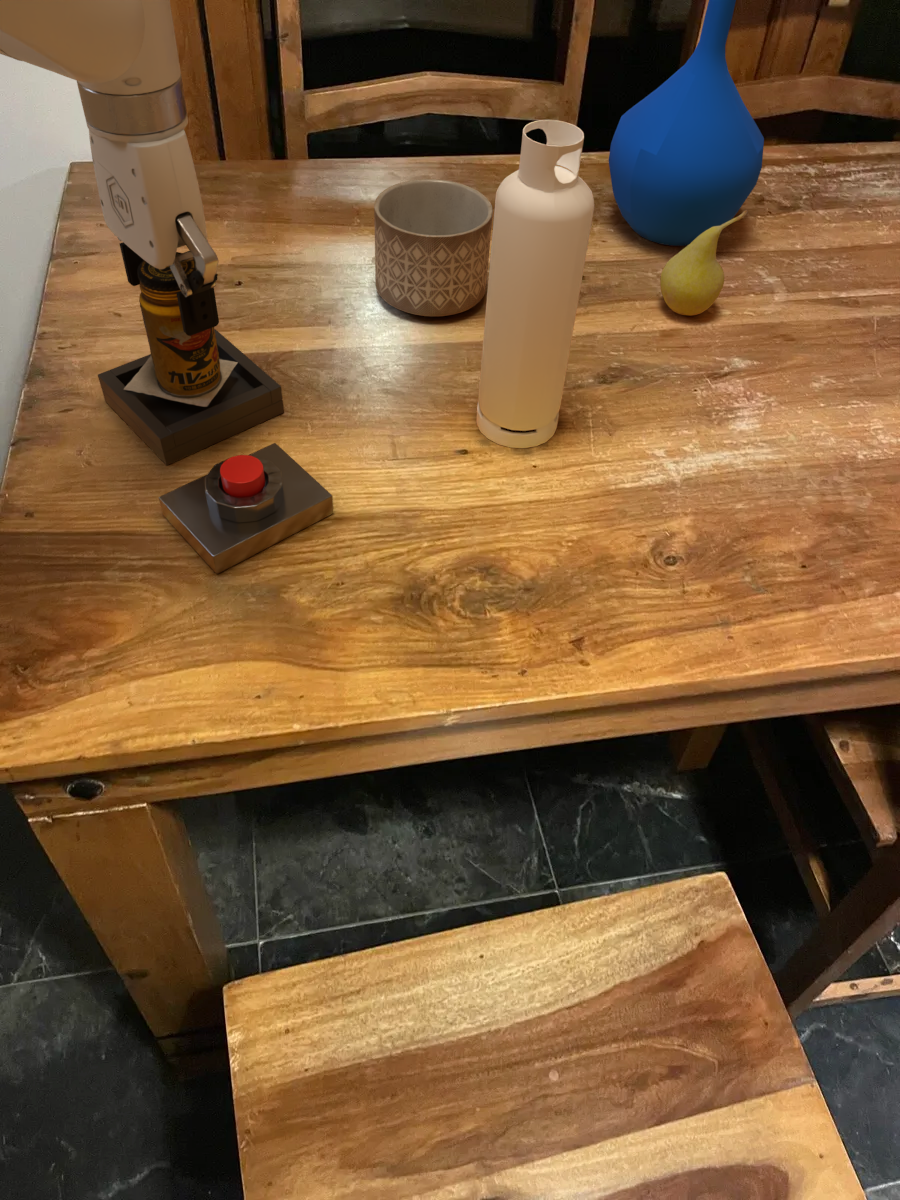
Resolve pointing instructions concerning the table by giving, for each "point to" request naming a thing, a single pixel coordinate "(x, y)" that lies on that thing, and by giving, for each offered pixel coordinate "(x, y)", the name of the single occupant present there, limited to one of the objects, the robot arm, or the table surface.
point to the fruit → (695, 274)
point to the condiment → (175, 345)
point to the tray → (194, 406)
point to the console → (246, 510)
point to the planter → (432, 246)
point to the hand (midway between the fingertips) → (173, 304)
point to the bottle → (534, 287)
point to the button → (242, 476)
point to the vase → (688, 146)
